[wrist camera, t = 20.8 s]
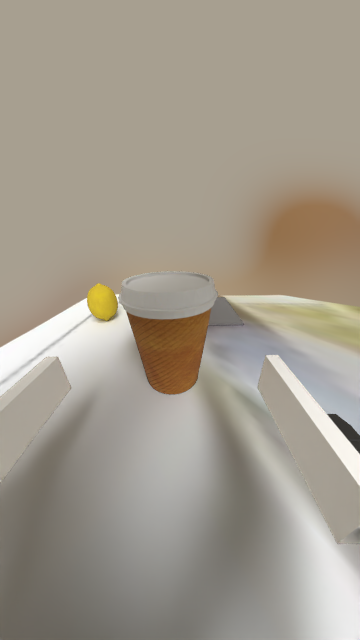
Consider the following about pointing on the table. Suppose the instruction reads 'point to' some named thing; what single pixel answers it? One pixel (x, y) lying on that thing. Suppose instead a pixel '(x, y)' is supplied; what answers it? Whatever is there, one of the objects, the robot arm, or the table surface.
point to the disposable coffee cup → (169, 324)
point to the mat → (223, 313)
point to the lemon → (102, 302)
